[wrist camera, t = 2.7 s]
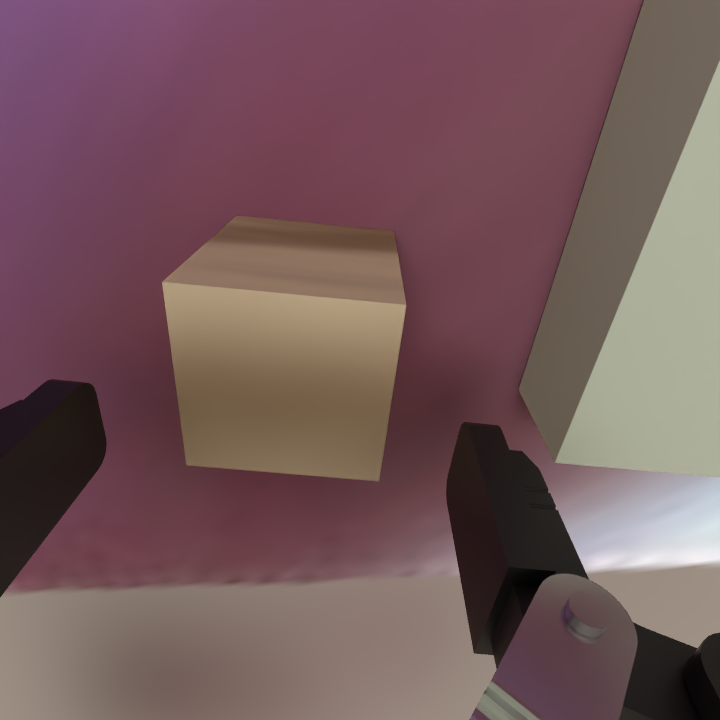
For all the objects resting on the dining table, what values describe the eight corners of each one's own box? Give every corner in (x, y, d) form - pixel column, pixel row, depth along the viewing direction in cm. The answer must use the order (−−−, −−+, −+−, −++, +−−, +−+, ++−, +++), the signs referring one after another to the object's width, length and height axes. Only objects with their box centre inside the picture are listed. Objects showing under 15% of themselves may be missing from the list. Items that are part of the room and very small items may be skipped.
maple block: (237, 215, 14) (162, 281, 9) (393, 230, 15) (406, 305, 9) (243, 352, 17) (186, 465, 12) (376, 364, 17) (378, 481, 12)
